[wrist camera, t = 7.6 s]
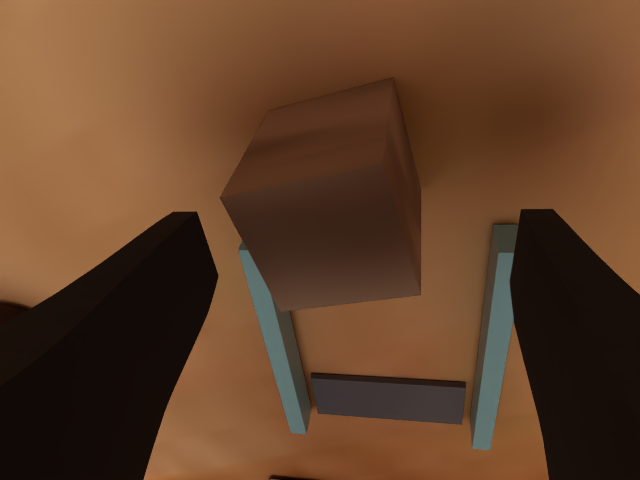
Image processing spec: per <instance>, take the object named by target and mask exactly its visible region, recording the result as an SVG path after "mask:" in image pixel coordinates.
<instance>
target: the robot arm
mask: <svg viewBox="0 0 640 480" xmlns="http://www.w3.org/2000/svg"><path fill="white" fill-rule="evenodd" d="M217 280H218V273H217V270H216V267H215V264H214V261H213V258H212V255H211V252H210V249H209V246H208V243H207V240H206V237H205V234H204V231H203V228H202V225H201V222H200V219H199V216H198V213H197V212H172V213H171V214H169V215H167V216H166V217H164V218H163V219H161V220H160V221H158V222H157V223H155V224H154V225H153V226H151V227H150V228H148V229H147V230H146V231H144V232H143V233H141V234H140V235H139V236H137V237H136V238H135V239H133V240H132V241H131V242H129V243H128V244H126V245H125V246H124V247H122V248H121V249H120V250H118V251H117V252H116V253H114V254H113V255H111V256H110V257H109V258H107V259H106V260H105V261H103V262H102V263H100V264H99V265H97V266H96V267H95V268H93V269H92V270H90V271H89V272H87V273H86V274H84V275H83V276H81V277H80V278H78V279H77V280H75V281H74V282H72V283H71V284H69V285H68V286H66V287H65V288H64V289H62V290H60V291H59V292H57V293H56V294H54V295H53V296H51V297H49V298H48V299H46V300H44V301H43V302H41V303H39V304H38V305H36V306H34V307H32V308H31V309H29V310H27V311H25V312H24V313H22V314H20V315H18V316H17V317H15V318H13V319H11V320H9V321H8V322H6V323H4V324H2V325H0V480H143V479H144V476H145V472H146V469H147V466H148V462H149V459H150V456H151V452H152V449H153V446H154V443H155V440H156V437H157V434H158V431H159V428H160V425H161V422H162V418H163V415H164V412H165V410H166V407H167V405H168V402H169V400H170V397H171V395H172V392H173V390H174V388H175V385H176V383H177V381H178V379H179V377H180V374H181V372H182V370H183V368H184V366H185V363H186V361H187V359H188V357H189V355H190V352H191V350H192V348H193V346H194V344H195V341H196V339H197V337H198V335H199V332H200V330H201V328H202V326H203V323H204V321H205V319H206V316H207V314H208V311H209V308H210V305H211V302H212V298H213V295H214V291H215V287H216V284H217ZM509 283H510V292H511V301H512V309H513V317H514V324H515V328H516V332H517V336H518V340H519V344H520V348H521V352H522V356H523V360H524V364H525V367H526V371H527V375H528V379H529V383H530V387H531V391H532V394H533V398H534V402H535V406H536V410H537V414H538V418H539V422H540V427H541V432H542V436H543V441H544V448H545V455H546V461H547V468H548V475H549V480H640V295H639V294H638V293H637V292H636V291H635V290H634V289H632V288H631V287H630V286H629V285H628V284H627V283H626V282H625V281H624V280H623V279H621V278H620V277H619V276H618V275H617V274H616V273H615V272H614V271H613V270H612V269H611V268H610V267H609V266H608V265H607V264H606V263H605V262H604V261H603V260H602V259H601V258H600V257H599V256H598V255H597V254H596V253H595V252H594V251H593V250H592V249H591V248H590V247H589V246H588V245H587V244H586V243H585V242H584V241H583V240H582V239H581V238H580V237H579V236H578V235H577V234H576V233H575V232H574V231H573V229H572V228H571V227H570V226H569V225H568V224H567V223H566V222H565V221H564V220H563V219H562V218H561V217H560V216H559V215H558V214H557V213H556V212H555V211H554V210H553V209H521V213H520V219H519V225H518V231H517V238H516V244H515V250H514V256H513V263H512V269H511V275H510V281H509ZM269 480H279V479H269Z"/></svg>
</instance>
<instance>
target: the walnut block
mask: <svg viewBox="0 0 640 480" xmlns="http://www.w3.org/2000/svg"><path fill="white" fill-rule="evenodd" d="M220 199H221V201H222V203H223V205H224V207H225V208H226V210H227V212H228V214H229V216H230V218H231V220H232V222H233V223H234V225H235V227H236V229H237V231H238V233H239V235H240V237H241V238H242V240H243V242H244V244H245V246H246V248H247V250H248V252H249V253H250V255H251V257H252V259H253V261H254V263H255V265H256V267H257V268H258V270H259V272H260V274H261V276H262V278H263V280H264V282H265V284H266V285H267V287H268V289H269V291H270V293H271V295H272V297H273V299H274V300H275V302H276V304H277V306H278V308H279V310H280V312H283V311H291V310H300V309H308V308H317V307H325V306H333V305H342V304H350V303H358V302H367V301H375V300H384V299H392V298H400V297H409V296H417V295H421V188H420V184H419V180H418V176H417V172H416V168H415V164H414V160H413V156H412V152H411V148H410V144H409V140H408V136H407V132H406V127H405V123H404V119H403V115H402V111H401V107H400V103H399V99H398V95H397V91H396V87H395V83H394V79H393V77H392V78H388V79H385V80H381V81H377V82H373V83H370V84H366V85H362V86H358V87H355V88H351V89H347V90H343V91H340V92H336V93H332V94H329V95H325V96H321V97H317V98H314V99H310V100H306V101H302V102H299V103H295V104H291V105H287V106H284V107H280V108H276V109H273V110H269V112H268V113H267V115H266V117H265V119H264V120H263V122H262V124H261V126H260V127H259V129H258V131H257V133H256V135H255V136H254V138H253V140H252V142H251V143H250V145H249V147H248V149H247V150H246V152H245V154H244V156H243V157H242V159H241V161H240V163H239V164H238V166H237V168H236V170H235V171H234V173H233V175H232V177H231V179H230V180H229V182H228V184H227V186H226V187H225V189H224V191H223V193H222V194H221V196H220Z"/></svg>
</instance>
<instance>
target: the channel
mask: <svg viewBox="0 0 640 480" xmlns="http://www.w3.org/2000/svg"><path fill="white" fill-rule="evenodd" d="M517 231H518V225H493V231H492V240H491V248H490V256H489V265H488V273H487V281H486V290H485V298H484V306H483V315H482V323H481V331H480V340H479V348H478V356H477V364H476V373H475V381H474V389H473V398H472V406H471V414H470V427H471V439H472V449H483V450H490V448H491V443H492V437H493V431H494V426H495V420H496V415H497V409H498V403H499V398H500V392H501V386H502V381H503V375H504V370H505V364H506V358H507V353H508V347H509V341H510V336H511V330H512V325H513V319H514V317H513V309H512V301H511V292H510V283H509V281H510V275H511V269H512V263H513V256H514V250H515V244H516V238H517ZM238 251H239V255H240V258H241V262H242V265H243V269H244V272H245V276H246V279H247V283H248V286H249V289H250V293H251V296H252V300H253V303H254V307H255V310H256V314H257V317H258V321H259V324H260V328H261V331H262V334H263V338H264V341H265V345H266V348H267V352H268V355H269V359H270V362H271V366H272V369H273V372H274V376H275V379H276V383H277V386H278V390H279V393H280V397H281V400H282V404H283V407H284V411H285V414H286V417H287V421H288V424H289V428H290V431H291V433H297V434H307V429H308V424H309V418H310V413H311V403H310V399H309V395H308V390H307V386H306V381H305V377H304V373H303V368H302V364H301V360H300V355H299V351H298V346H297V342H296V338H295V333H294V329H293V325H292V320H291V316H290V311H283V312H280V310H279V308H278V306H277V304H276V302H275V300H274V299H273V297H272V295H271V293H270V291H269V289H268V287H267V285H266V284H265V282H264V280H263V278H262V276H261V274H260V272H259V270H258V268H257V267H256V265H255V263H254V261H253V259H252V257H251V255H250V253H249V252H248V250H247V248H246V246H245V244H244V242H243V241H242V243H241V245H240V247H239V250H238ZM310 379H311V383H312V388H313V393H314V397H315V402H316V406H317V411H318V414H330V415H343V416H356V417H369V418H382V419H395V420H408V421H422V422H435V423H448V424H461V425H462V418H463V409H464V399H465V389H466V387H465V382H450V381H433V380H417V379H400V378H383V377H367V376H350V375H333V374H317V373H311V378H310Z"/></svg>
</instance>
